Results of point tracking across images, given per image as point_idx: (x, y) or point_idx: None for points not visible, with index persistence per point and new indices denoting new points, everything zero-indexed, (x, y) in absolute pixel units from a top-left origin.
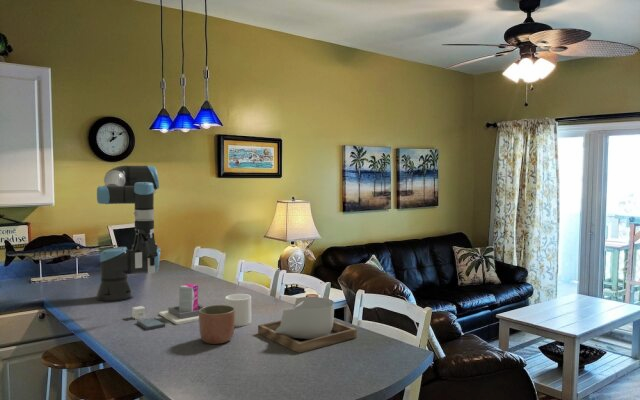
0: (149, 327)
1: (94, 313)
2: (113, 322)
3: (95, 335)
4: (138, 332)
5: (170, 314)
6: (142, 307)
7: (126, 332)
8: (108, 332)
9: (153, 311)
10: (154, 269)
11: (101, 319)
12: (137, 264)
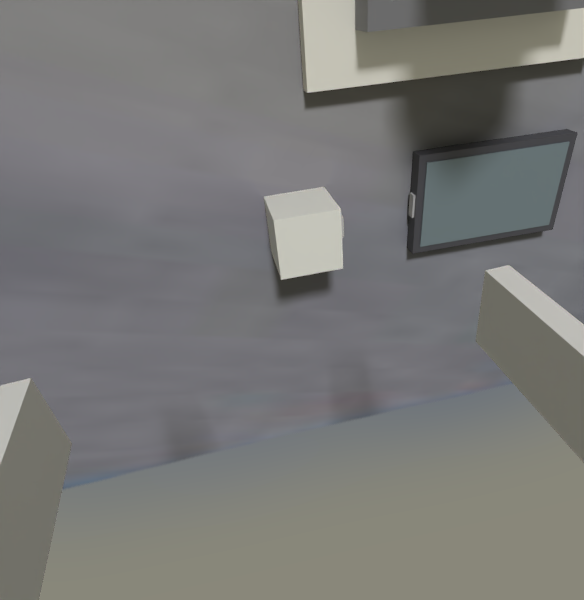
0: (555, 215)
1: (98, 402)
2: (320, 336)
3: (452, 392)
4: (540, 259)
5: (418, 34)
6: (316, 224)
7: None
8: (450, 356)
9: (200, 107)
10: (542, 300)
11: (236, 376)
12: (51, 474)
